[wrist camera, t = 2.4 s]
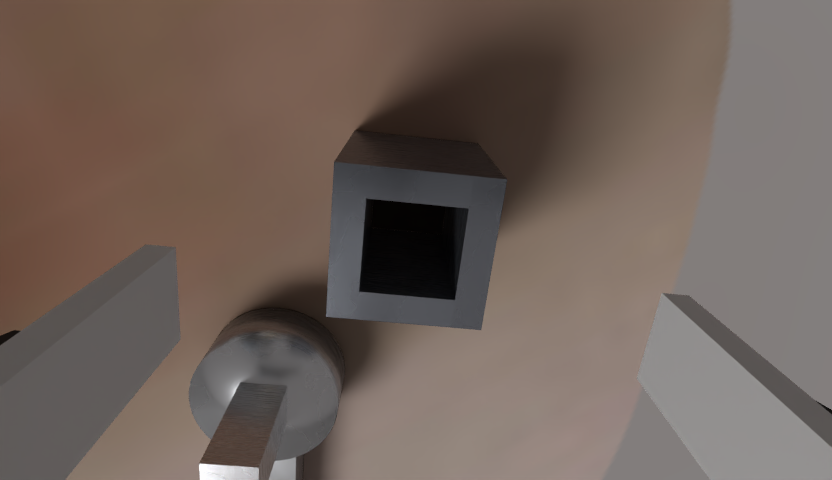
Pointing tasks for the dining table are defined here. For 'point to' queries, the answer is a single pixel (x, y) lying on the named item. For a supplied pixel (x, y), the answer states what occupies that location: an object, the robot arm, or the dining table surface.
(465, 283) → the socket
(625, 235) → the dining table surface
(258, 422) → the ratchet
